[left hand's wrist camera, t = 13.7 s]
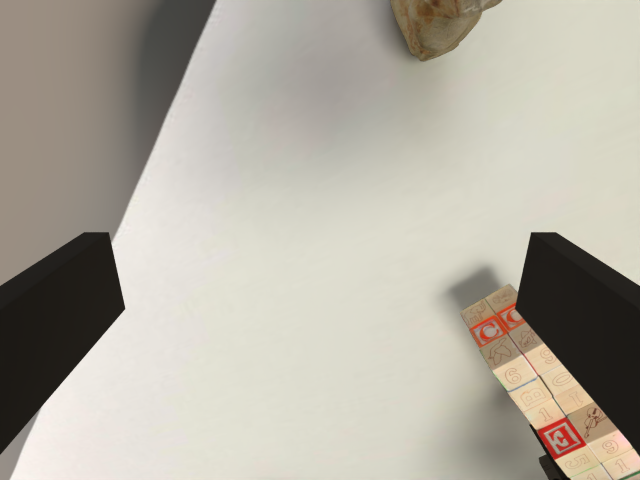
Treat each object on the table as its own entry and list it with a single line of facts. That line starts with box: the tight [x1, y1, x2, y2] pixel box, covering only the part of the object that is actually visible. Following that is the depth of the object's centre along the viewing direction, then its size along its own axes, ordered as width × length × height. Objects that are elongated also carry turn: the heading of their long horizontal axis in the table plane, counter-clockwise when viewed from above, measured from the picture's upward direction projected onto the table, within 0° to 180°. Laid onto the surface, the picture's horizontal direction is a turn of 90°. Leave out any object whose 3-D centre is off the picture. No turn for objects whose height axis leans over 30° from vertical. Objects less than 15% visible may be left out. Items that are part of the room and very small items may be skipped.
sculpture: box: [390, 0, 502, 61], centre depth 29 cm, size 6×7×15 cm
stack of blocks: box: [460, 284, 640, 480], centre depth 40 cm, size 21×6×12 cm, turn 37°
